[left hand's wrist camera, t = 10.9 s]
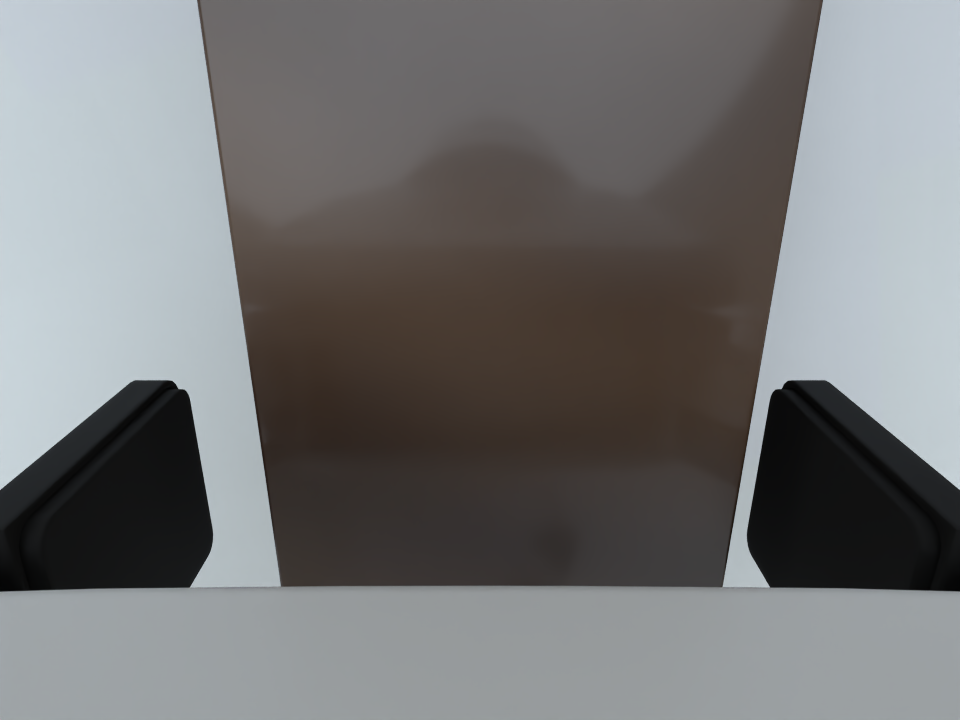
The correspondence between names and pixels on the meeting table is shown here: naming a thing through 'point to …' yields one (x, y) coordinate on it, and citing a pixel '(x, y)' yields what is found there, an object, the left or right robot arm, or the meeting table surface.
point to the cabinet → (506, 276)
